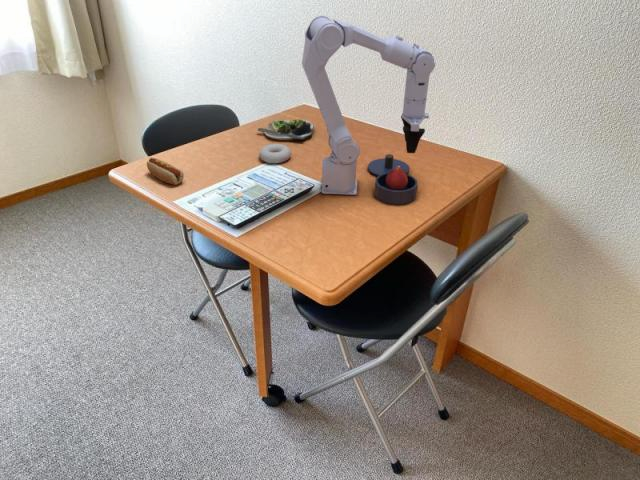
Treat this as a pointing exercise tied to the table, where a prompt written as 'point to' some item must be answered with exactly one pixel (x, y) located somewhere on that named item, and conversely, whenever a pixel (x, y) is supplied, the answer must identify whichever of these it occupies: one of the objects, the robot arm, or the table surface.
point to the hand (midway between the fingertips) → (409, 146)
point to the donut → (275, 153)
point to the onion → (396, 179)
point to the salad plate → (289, 130)
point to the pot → (395, 191)
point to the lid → (386, 165)
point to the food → (165, 171)
